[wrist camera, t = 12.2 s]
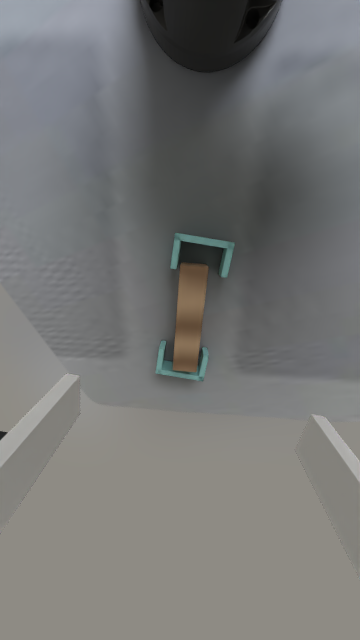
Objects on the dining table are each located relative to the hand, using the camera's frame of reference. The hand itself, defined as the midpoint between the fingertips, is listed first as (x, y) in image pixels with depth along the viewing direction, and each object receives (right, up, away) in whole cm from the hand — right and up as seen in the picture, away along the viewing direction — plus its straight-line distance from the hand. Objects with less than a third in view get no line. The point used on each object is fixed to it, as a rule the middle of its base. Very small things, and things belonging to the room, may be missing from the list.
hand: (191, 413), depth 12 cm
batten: (+1, +7, +21) cm, 22 cm away
